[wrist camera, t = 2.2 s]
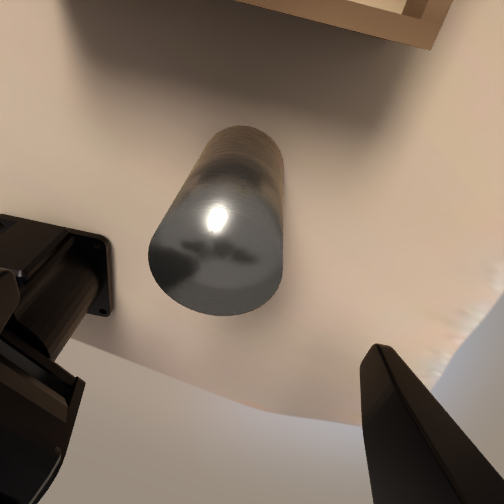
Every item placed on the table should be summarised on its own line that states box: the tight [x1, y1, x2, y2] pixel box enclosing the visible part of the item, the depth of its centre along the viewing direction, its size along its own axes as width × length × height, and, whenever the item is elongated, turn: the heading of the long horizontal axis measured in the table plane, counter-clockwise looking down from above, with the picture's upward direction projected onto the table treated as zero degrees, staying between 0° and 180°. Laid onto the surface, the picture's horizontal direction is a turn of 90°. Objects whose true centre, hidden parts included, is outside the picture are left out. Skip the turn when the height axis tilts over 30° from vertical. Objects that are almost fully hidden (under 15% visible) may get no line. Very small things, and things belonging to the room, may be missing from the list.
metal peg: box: [148, 126, 283, 316], centre depth 13 cm, size 4×4×8 cm
